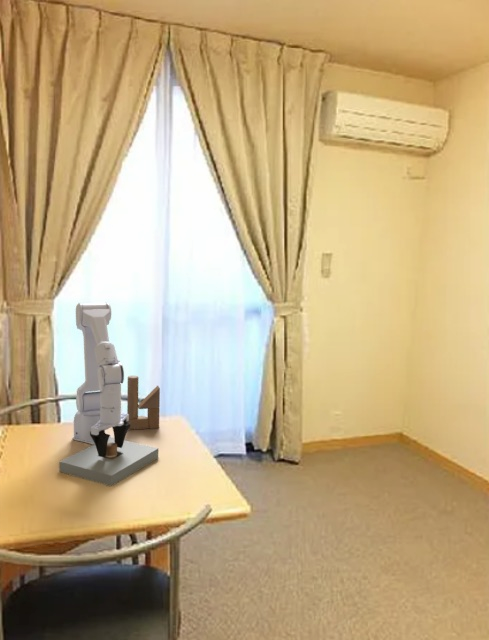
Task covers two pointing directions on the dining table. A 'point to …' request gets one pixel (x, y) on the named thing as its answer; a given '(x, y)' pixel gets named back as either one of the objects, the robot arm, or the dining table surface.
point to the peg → (111, 451)
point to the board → (108, 462)
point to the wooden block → (142, 406)
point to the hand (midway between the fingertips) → (110, 451)
